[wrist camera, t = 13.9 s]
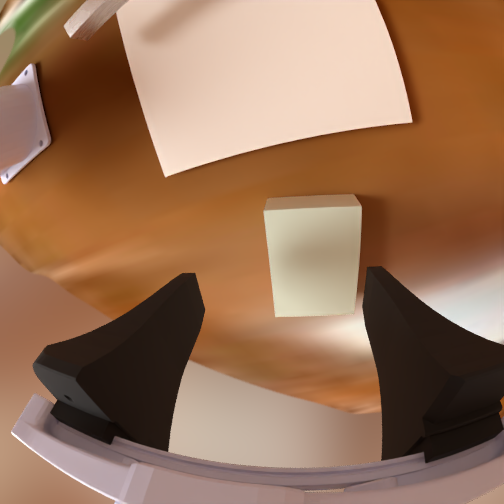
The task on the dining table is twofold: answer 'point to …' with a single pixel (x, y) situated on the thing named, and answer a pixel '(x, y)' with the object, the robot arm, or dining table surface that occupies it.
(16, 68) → the dining table surface
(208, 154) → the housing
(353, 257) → the cover
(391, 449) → the robot arm
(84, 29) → the t key
